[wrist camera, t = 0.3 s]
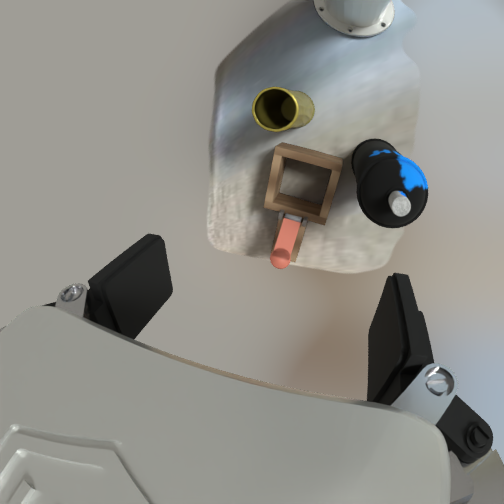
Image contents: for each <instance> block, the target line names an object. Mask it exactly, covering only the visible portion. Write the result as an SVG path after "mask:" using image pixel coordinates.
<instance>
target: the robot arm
mask: <svg viewBox="0 0 504 504" xmlns="http://www.w3.org/2000/svg"><path fill="white" fill-rule="evenodd" d="M314 4H315V8H316V11H317V12H318V14H319V16H320V17H321V18H322V19H323V21H324V22H325V23H327V24H328V25H329V26H330V27H332V28H334V29H335V30H337V31H339V32H341V33H344V34H347V35H350V36H356V37H370V36H375V35H378V34H380V33H382V32H384V31H385V30H386V29H387V28H388V27H390V25H391V23H392V21H393V19H394V14H395V10H394V5H393V2H392V0H314ZM320 10H323V11H320ZM381 25H383V26H384V27H382V26H381ZM349 30H351V31H352V32H349ZM88 283H89V286H90V289H89V290H87V287H86V286H85V285H83V284H72V285H69V286H68V287H66V288H65V289H63V290H62V291H61V292H60V293H59V295H58V298H57V301H56V302H54V303H50V304H46V305H42V306H35V307H30V308H28V309H26V310H25V311H23V312H22V313H21V314H20V315H18V316H17V317H16V318H15V319H14V320H13V321H11V322H10V323H9V324H8V325H7V326H5V327H3V328H1V329H0V504H504V464H503V462H502V460H501V458H500V456H499V454H498V452H497V450H494V451H492V449H491V446H492V443H493V433H492V430H491V428H490V426H489V425H488V424H487V423H486V422H485V421H484V420H483V419H482V418H481V417H480V416H479V415H478V414H477V413H475V412H474V411H473V410H472V409H471V408H470V407H469V406H468V405H467V404H466V403H465V402H463V401H462V400H461V399H460V398H459V397H458V396H457V395H456V392H457V389H458V381H457V378H456V376H455V374H454V372H453V371H452V370H451V369H450V368H448V367H447V366H445V365H443V364H439V363H434V359H433V354H432V350H431V345H430V341H429V336H428V331H427V327H426V323H425V319H424V315H423V313H422V312H421V311H418V307H417V304H416V300H415V297H414V293H413V289H412V286H411V283H410V279H409V276H408V275H405V274H399V273H394V274H393V275H392V276H388V278H387V280H386V283H385V286H384V290H383V293H382V296H381V298H380V302H379V304H378V307H377V310H376V313H375V315H374V318H373V321H372V323H371V326H370V329H369V334H368V347H369V349H368V350H369V351H368V353H369V354H368V356H369V357H368V392H367V401H363V400H357V399H352V398H344V397H337V396H331V395H326V394H320V393H315V392H309V391H305V390H299V389H294V388H289V387H285V386H280V385H275V384H271V383H267V382H263V381H258V380H254V379H251V378H247V377H243V376H239V375H236V374H232V373H229V372H225V371H222V370H218V369H215V368H212V367H208V366H205V365H202V364H199V363H196V362H192V361H190V360H186V359H184V358H181V357H178V356H175V355H172V354H169V353H167V352H164V351H161V350H159V349H156V348H153V347H151V346H148V345H145V344H143V343H141V342H138V341H136V340H134V339H135V338H136V336H137V335H138V334H139V333H140V332H141V330H142V329H143V328H144V327H145V326H146V324H147V323H148V322H149V321H150V320H151V319H152V317H153V316H154V315H155V314H156V313H157V311H158V310H159V309H160V308H161V307H162V305H163V304H164V303H165V302H166V301H167V300H168V299H169V297H170V296H171V294H172V292H173V287H172V282H171V276H170V271H169V266H168V260H167V254H166V248H165V243H164V240H163V239H162V238H161V236H159V235H154V234H147V235H145V236H144V237H143V238H141V239H140V240H139V241H137V242H136V243H135V244H133V245H132V246H131V247H129V248H128V249H127V250H126V251H124V252H123V253H122V254H120V255H119V256H118V257H117V258H115V259H114V260H113V261H111V262H110V263H109V264H108V265H106V266H105V267H104V268H103V269H102V270H100V271H99V272H98V273H97V274H95V275H94V276H93V277H92V278H91V279H89V280H88Z"/></svg>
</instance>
